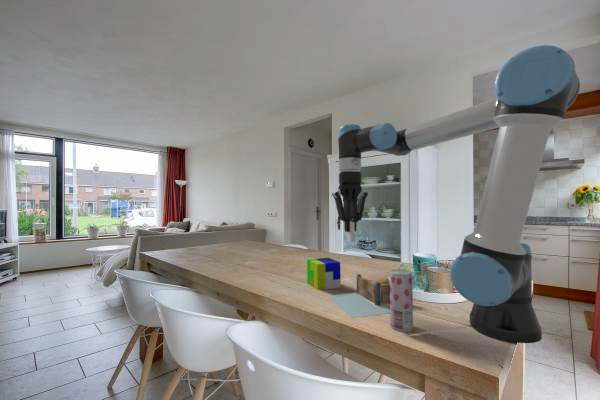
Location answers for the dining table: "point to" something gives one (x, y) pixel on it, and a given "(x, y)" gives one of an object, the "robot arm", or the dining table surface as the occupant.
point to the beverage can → (401, 300)
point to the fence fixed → (385, 293)
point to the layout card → (359, 305)
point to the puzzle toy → (323, 273)
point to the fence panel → (369, 289)
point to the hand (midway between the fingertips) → (350, 241)
